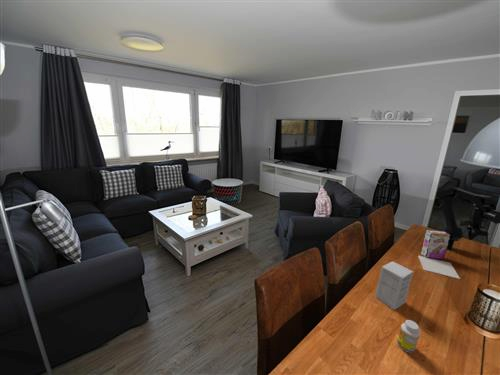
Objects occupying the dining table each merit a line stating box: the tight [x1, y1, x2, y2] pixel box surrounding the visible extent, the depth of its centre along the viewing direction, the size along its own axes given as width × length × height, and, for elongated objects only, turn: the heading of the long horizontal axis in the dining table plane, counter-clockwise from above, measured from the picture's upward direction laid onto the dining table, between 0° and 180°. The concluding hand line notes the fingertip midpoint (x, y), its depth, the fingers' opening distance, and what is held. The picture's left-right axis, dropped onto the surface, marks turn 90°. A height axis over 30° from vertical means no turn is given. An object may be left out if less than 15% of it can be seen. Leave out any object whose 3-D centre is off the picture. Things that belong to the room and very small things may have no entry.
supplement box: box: [374, 261, 414, 311], centre depth 103 cm, size 10×9×17 cm
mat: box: [417, 255, 461, 280], centre depth 132 cm, size 16×16×1 cm
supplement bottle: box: [396, 319, 421, 354], centre depth 82 cm, size 6×6×10 cm
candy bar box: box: [420, 229, 450, 260], centre depth 140 cm, size 11×5×16 cm, turn 84°
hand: (469, 239), depth 139 cm, fingers closed
